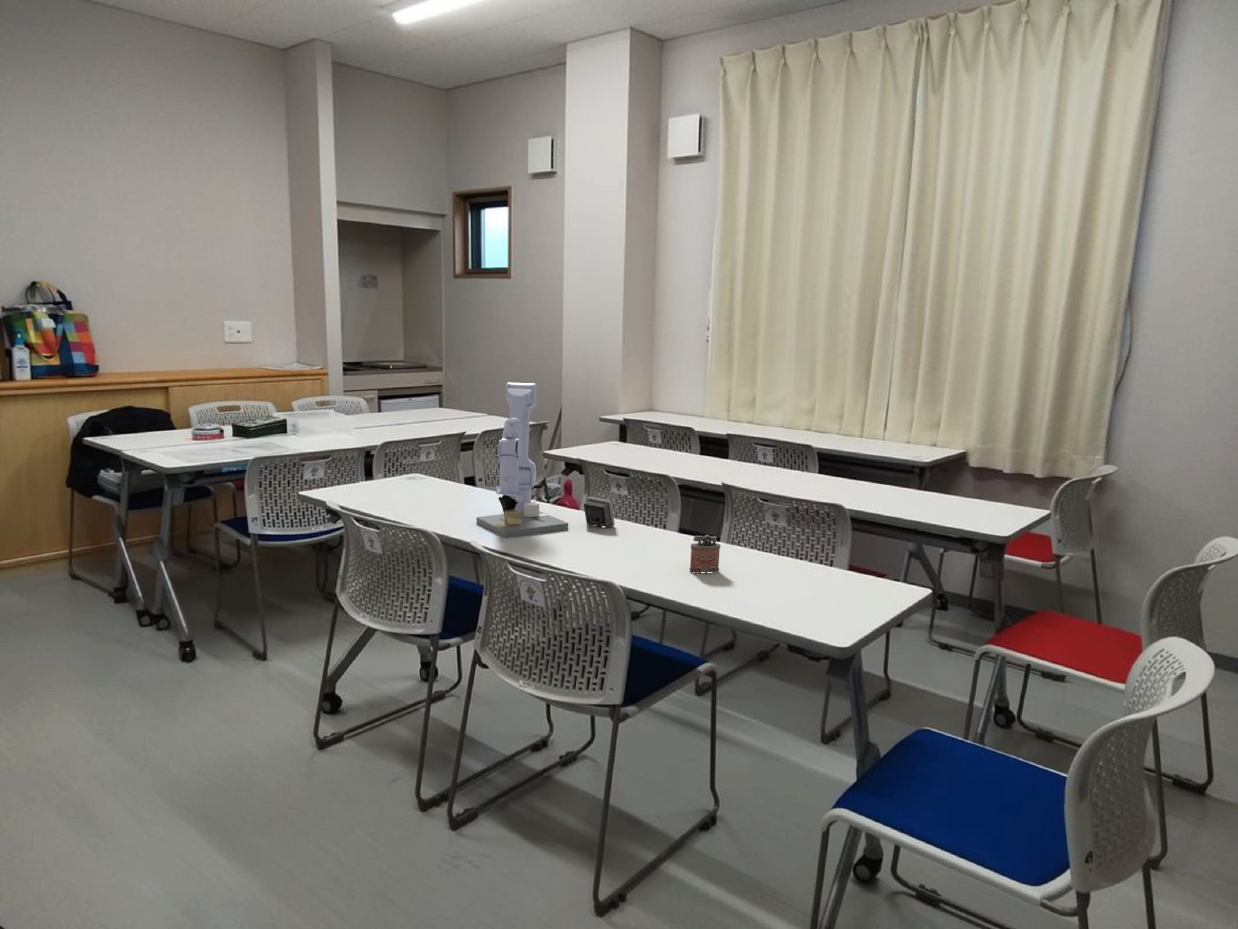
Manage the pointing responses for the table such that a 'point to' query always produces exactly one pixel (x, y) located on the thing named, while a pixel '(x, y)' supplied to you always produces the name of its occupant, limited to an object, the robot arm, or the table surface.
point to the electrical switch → (599, 512)
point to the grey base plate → (522, 525)
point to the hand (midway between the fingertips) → (508, 519)
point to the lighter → (705, 554)
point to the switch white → (531, 509)
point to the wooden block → (512, 517)
